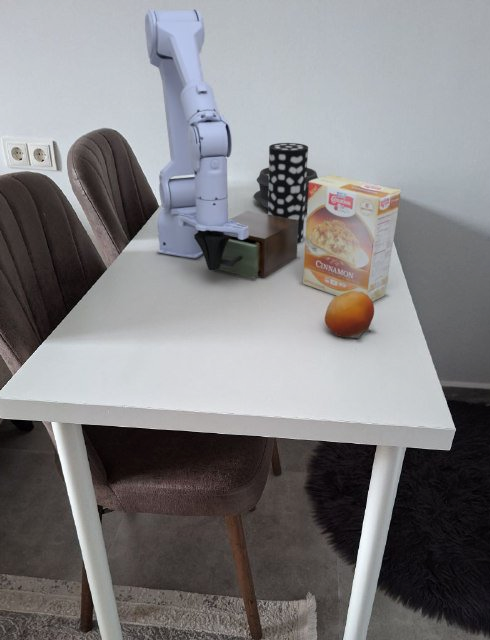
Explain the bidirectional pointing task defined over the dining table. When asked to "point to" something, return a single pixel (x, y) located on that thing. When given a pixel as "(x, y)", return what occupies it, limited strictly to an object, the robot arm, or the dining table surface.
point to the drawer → (242, 257)
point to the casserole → (264, 180)
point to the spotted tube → (288, 182)
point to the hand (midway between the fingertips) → (214, 269)
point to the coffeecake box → (349, 236)
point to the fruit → (350, 314)
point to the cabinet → (271, 239)
